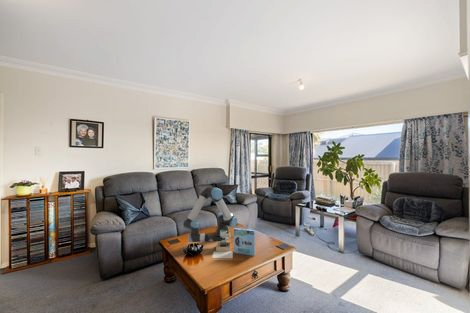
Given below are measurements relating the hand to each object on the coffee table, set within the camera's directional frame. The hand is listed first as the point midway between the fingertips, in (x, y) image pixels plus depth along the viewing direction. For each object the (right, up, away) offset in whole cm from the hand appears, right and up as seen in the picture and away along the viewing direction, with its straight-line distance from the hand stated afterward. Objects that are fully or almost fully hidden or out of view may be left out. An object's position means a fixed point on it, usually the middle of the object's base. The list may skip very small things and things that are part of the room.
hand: (228, 237), depth 201 cm
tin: (-5, -9, 0) cm, 11 cm away
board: (-5, -11, -13) cm, 18 cm away
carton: (-5, -11, 0) cm, 12 cm away
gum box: (+15, -12, -9) cm, 21 cm away
